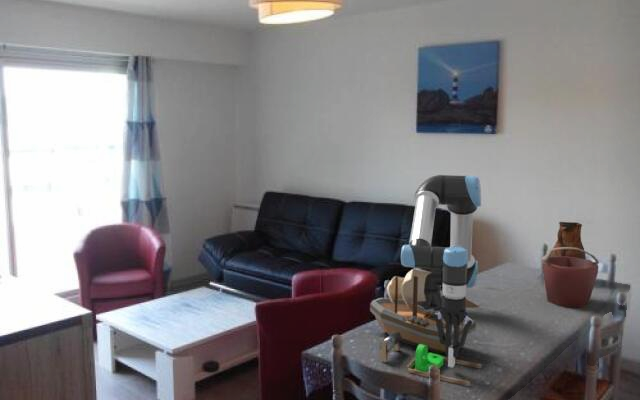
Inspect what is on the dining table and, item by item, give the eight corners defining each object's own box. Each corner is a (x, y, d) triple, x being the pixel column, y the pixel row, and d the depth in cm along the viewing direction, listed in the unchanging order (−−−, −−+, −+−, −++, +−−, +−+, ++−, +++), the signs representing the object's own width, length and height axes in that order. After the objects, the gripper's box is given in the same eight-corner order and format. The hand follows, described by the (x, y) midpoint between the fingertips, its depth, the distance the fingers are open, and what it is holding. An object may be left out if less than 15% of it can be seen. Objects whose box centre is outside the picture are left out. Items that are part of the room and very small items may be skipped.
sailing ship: (386, 322, 233) (388, 257, 229) (489, 354, 202) (493, 279, 199) (361, 333, 221) (362, 265, 218) (466, 368, 191) (469, 289, 187)
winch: (378, 361, 196) (378, 341, 195) (392, 348, 207) (392, 329, 206) (388, 363, 194) (389, 343, 193) (402, 350, 205) (402, 331, 204)
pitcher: (589, 280, 295) (593, 223, 291) (573, 288, 280) (577, 228, 276) (557, 274, 307) (561, 218, 303) (539, 282, 292) (543, 224, 288)
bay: (404, 371, 188) (404, 367, 188) (420, 355, 201) (420, 351, 201) (468, 386, 178) (469, 381, 178) (481, 367, 191) (481, 363, 191)
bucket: (538, 306, 255) (541, 250, 251) (536, 292, 275) (539, 240, 272) (599, 312, 247) (603, 255, 243) (593, 297, 267) (596, 244, 264)
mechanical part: (432, 374, 185) (432, 351, 184) (414, 370, 188) (415, 347, 187) (445, 362, 195) (446, 339, 194) (429, 357, 198) (430, 335, 197)
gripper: (430, 295, 184) (428, 365, 188) (471, 302, 178) (468, 374, 181) (438, 289, 191) (435, 357, 194) (477, 295, 184) (474, 365, 188)
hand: (451, 365), depth 188 cm, fingers closed
